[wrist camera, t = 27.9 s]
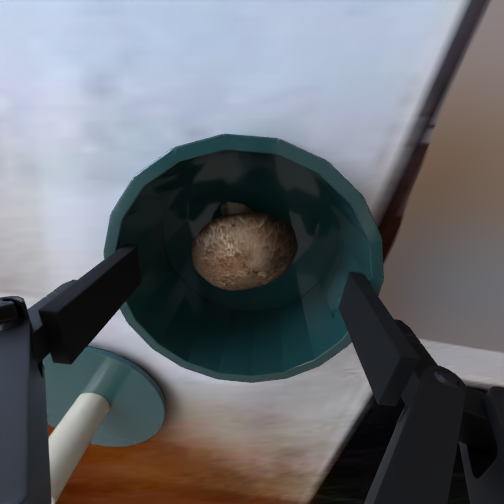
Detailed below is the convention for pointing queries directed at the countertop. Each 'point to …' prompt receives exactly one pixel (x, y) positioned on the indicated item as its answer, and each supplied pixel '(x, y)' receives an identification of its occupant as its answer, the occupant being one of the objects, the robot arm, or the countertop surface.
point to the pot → (254, 299)
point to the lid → (97, 408)
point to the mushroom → (243, 248)
